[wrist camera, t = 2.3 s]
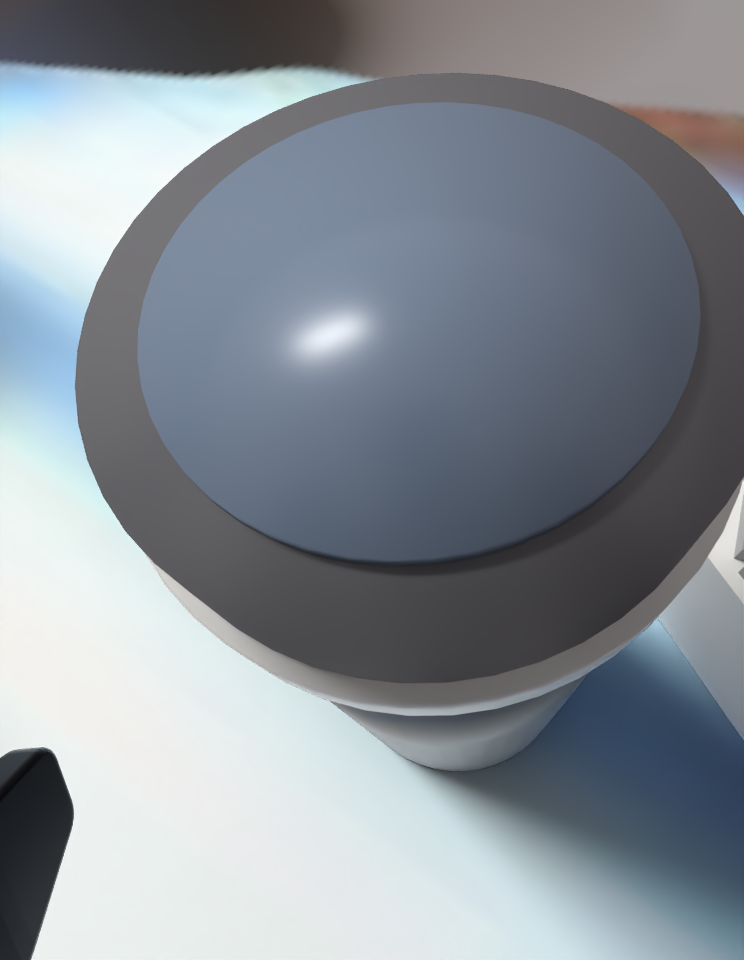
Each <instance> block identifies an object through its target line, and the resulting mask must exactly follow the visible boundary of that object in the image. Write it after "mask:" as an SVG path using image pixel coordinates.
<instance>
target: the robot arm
mask: <svg viewBox="0 0 744 960" xmlns="http://www.w3.org/2000/svg"><path fill="white" fill-rule="evenodd" d="M73 819H74V809H73V803H72V800H71V797H70V794H69V791H68V789H67V786H66V783H65V780H64V777H63V775H62V772H61V769H60V766H59V764H58V761H57V758H56V756H55V754H54V753H53V752H52V751H51V750H50V749H48V748H44V747H40V748H29V749H18V750H13V751H11V752H8V753H7V754H5V755H4V756H2V757H1V758H0V960H31V958H32V955H33V952H34V949H35V946H36V943H37V940H38V936H39V933H40V930H41V927H42V924H43V920H44V917H45V914H46V911H47V907H48V904H49V901H50V898H51V894H52V891H53V888H54V885H55V881H56V878H57V875H58V872H59V869H60V865H61V862H62V859H63V856H64V852H65V849H66V846H67V843H68V839H69V836H70V833H71V830H72V825H73Z"/></svg>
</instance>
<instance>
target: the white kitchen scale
mask: <svg viewBox="0 0 744 960" xmlns="http://www.w3.org/2000/svg"><path fill="white" fill-rule="evenodd" d="M658 618H659V620H660V621H661V623H662V624H663V626H664V627H665V628H666V630H667V631H668V633H669V634H670V636H671V637H672V638H673V640H674V641H675V643H676V644H677V646H678V647H679V649H680V650H681V651H682V653H683V654H684V656H685V657H686V659H687V660H688V661H689V663H690V664H691V666H692V667H693V669H694V670H695V672H696V673H697V674H698V676H699V677H700V679H701V680H702V682H703V683H704V684H705V686H706V687H707V689H708V690H709V692H710V693H711V695H712V696H713V697H714V699H715V700H716V702H717V703H718V705H719V706H720V707H721V709H722V710H723V712H724V713H725V715H726V716H727V718H728V719H729V720H730V722H731V723H732V725H733V726H734V728H735V729H736V730H737V732H738V733H739V735H740V736H741V738H742V739H743V741H744V477H743V481H742V485H741V489H740V493H739V495H738V498H737V500H736V502H735V505H734V507H733V510H732V512H731V514H730V517H729V519H728V522H727V524H726V526H725V529H724V531H723V533H722V534H721V536H720V538H719V539H718V541H717V543H716V544H715V546H714V547H713V549H712V551H711V552H710V554H709V555H708V557H707V559H706V560H705V562H704V563H703V565H702V567H701V568H700V570H699V571H698V572H697V573H696V574H695V575H694V577H693V578H692V579H691V580H690V581H689V582H688V584H687V585H686V586H685V587H684V588H683V589H682V591H681V592H680V593H679V594H678V595H677V596H676V597H675V599H674V600H673V601H672V602H671V603H670V604H669V605H668V607H667V608H666V609H665V610H664V611H663V612H662V613H661V614H660V615H659V616H658Z"/></svg>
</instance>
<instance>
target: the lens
mask: <svg viewBox="0 0 744 960" xmlns="http://www.w3.org/2000/svg"><path fill="white" fill-rule="evenodd" d="M75 391H76V403H77V414H78V424H79V428H80V432H81V436H82V440H83V444H84V448H85V452H86V456H87V460H88V462H89V465H90V467H91V469H92V472H93V474H94V476H95V479H96V481H97V483H98V486H99V488H100V490H101V493H102V495H103V497H104V499H105V500H106V502H107V503H108V505H109V506H110V508H111V509H112V511H113V513H114V514H115V516H116V517H117V519H118V520H119V522H120V523H121V525H122V527H123V528H124V530H125V531H126V532H127V533H128V535H129V536H130V537H131V538H132V539H133V540H134V541H135V542H136V544H137V545H138V546H139V547H140V548H141V549H142V550H143V551H144V552H145V554H146V556H147V557H148V559H149V560H150V562H151V563H152V565H153V566H154V568H155V570H156V571H157V573H158V574H159V576H160V577H161V579H162V580H163V582H164V583H165V585H166V587H167V588H168V589H169V590H170V591H171V592H172V594H173V595H174V596H175V597H176V598H177V599H178V600H179V601H180V603H181V604H182V605H183V606H184V607H185V608H186V609H187V610H188V612H189V613H190V614H191V615H192V616H193V617H194V618H195V619H196V620H197V621H199V622H200V623H201V624H202V625H203V626H205V627H206V628H207V629H208V630H210V631H211V632H212V633H213V634H214V635H216V636H217V637H218V638H219V639H220V640H222V641H223V642H224V643H225V644H226V645H228V646H229V647H231V648H232V649H234V650H235V651H237V652H238V653H240V654H241V655H243V656H244V657H246V658H247V659H248V660H250V661H251V662H253V663H255V664H256V665H258V666H259V667H261V668H263V669H264V670H266V671H268V672H269V673H271V674H273V675H274V676H276V677H277V678H279V679H281V680H282V681H284V682H286V683H288V684H290V685H292V686H295V687H297V688H299V689H302V690H304V691H306V692H309V693H311V694H313V695H316V696H318V697H320V698H323V699H325V700H329V701H330V702H332V703H333V704H334V705H335V706H337V707H338V708H339V709H341V710H342V711H343V712H344V713H346V714H347V715H348V716H350V717H351V718H352V719H353V720H355V721H356V722H357V723H359V724H360V725H361V726H363V727H364V728H365V729H366V730H368V731H369V732H370V733H372V734H373V735H374V736H375V737H377V738H378V739H379V740H381V741H382V742H383V743H384V744H386V745H387V746H388V747H390V748H391V749H392V750H393V751H395V752H397V753H398V754H400V755H401V756H403V757H405V758H406V759H408V760H411V761H413V762H415V763H418V764H420V765H423V766H426V767H430V768H434V769H439V770H446V771H471V770H478V769H483V768H486V767H490V766H493V765H496V764H499V763H501V762H503V761H505V760H507V759H509V758H511V757H513V756H514V755H516V754H517V753H519V752H520V751H522V750H523V749H524V748H526V747H527V746H528V745H529V744H530V743H531V742H533V741H534V740H535V739H536V737H537V736H538V735H539V734H540V733H541V732H542V730H543V729H544V728H545V727H546V726H547V724H548V723H549V722H550V721H551V720H552V718H553V717H554V716H555V715H556V713H557V712H558V711H559V710H560V708H561V707H562V706H563V705H564V704H565V702H566V701H567V700H568V699H569V697H570V696H571V695H572V694H573V692H574V691H575V690H576V689H577V688H578V686H579V685H580V684H581V683H582V681H583V680H584V679H585V678H586V676H587V675H588V674H589V673H590V672H591V671H592V670H593V669H595V668H596V667H598V666H599V665H601V664H603V663H604V662H606V661H607V660H609V659H610V658H612V657H614V656H615V655H617V654H618V653H619V652H620V651H621V650H622V649H624V648H625V647H626V646H627V645H628V644H629V643H631V642H632V641H633V640H634V639H635V638H636V637H638V636H639V635H640V634H641V633H642V632H643V631H644V630H646V629H647V628H648V627H649V626H650V625H651V624H652V623H653V622H654V621H655V619H656V618H657V617H658V616H659V615H660V614H661V613H662V612H663V611H664V610H665V609H666V608H667V607H668V605H669V604H670V603H671V602H672V601H673V600H674V599H675V597H676V596H677V595H678V594H679V593H680V592H681V591H682V589H683V588H684V587H685V586H686V585H687V584H688V582H689V581H690V580H691V579H692V578H693V577H694V575H695V574H696V573H697V572H698V571H699V570H700V568H701V567H702V565H703V563H704V562H705V560H706V559H707V557H708V555H709V554H710V552H711V551H712V549H713V547H714V546H715V544H716V543H717V541H718V539H719V538H720V536H721V534H722V533H723V531H724V529H725V526H726V524H727V522H728V519H729V517H730V514H731V512H732V510H733V507H734V505H735V502H736V500H737V498H738V495H739V493H740V489H741V485H742V481H743V477H744V216H743V214H742V213H741V211H740V210H739V208H738V207H737V205H736V204H735V203H734V201H733V200H732V198H731V197H730V195H729V194H728V192H727V191H726V190H725V189H724V188H723V187H722V186H721V185H720V184H719V183H718V182H717V181H716V179H715V178H714V177H713V176H712V175H711V174H710V173H709V172H708V171H707V170H706V169H705V167H704V166H703V165H702V164H700V163H699V162H698V161H697V160H696V159H694V158H693V157H692V156H691V155H690V154H688V153H687V152H686V151H685V150H684V149H682V148H681V147H680V146H679V145H678V144H676V143H675V142H674V141H673V140H671V139H670V138H668V137H667V136H665V135H663V134H662V133H660V132H659V131H657V130H656V129H654V128H653V127H651V126H649V125H648V124H646V123H645V122H643V121H642V120H640V119H638V118H636V117H634V116H632V115H630V114H628V113H626V112H623V111H621V110H619V109H617V108H615V107H613V106H611V105H609V104H607V103H605V102H602V101H599V100H596V99H594V98H591V97H588V96H585V95H582V94H580V93H577V92H574V91H571V90H568V89H564V88H560V87H556V86H552V85H548V84H544V83H540V82H536V81H530V80H524V79H518V78H511V77H504V76H497V75H483V74H466V73H446V74H418V75H410V76H403V77H393V78H385V79H379V80H374V81H370V82H365V83H360V84H355V85H350V86H346V87H342V88H339V89H336V90H332V91H329V92H326V93H322V94H319V95H316V96H312V97H309V98H307V99H304V100H302V101H299V102H297V103H294V104H292V105H289V106H287V107H284V108H282V109H279V110H277V111H275V112H273V113H271V114H269V115H267V116H265V117H263V118H261V119H259V120H257V121H255V122H253V123H251V124H249V125H247V126H245V127H243V128H241V129H240V130H238V131H237V132H235V133H233V134H232V135H230V136H229V137H227V138H225V139H224V140H222V141H221V142H219V143H217V144H216V145H214V146H213V147H211V148H210V149H209V150H207V151H206V152H205V153H203V154H202V155H201V156H200V157H198V158H197V159H196V160H194V161H193V162H192V163H190V164H189V165H188V166H186V167H185V168H184V169H183V170H182V171H181V172H180V173H178V174H177V175H176V176H175V177H174V178H173V179H172V180H171V181H170V182H169V183H168V184H167V185H166V186H165V187H164V188H162V189H161V190H160V191H159V192H158V193H157V194H156V195H155V197H154V198H153V199H152V200H151V201H150V202H149V204H148V205H147V206H146V207H145V208H144V209H143V211H142V212H141V213H140V214H139V215H138V216H137V217H136V219H135V220H134V221H133V223H132V224H131V225H130V227H129V228H128V230H127V231H126V233H125V234H124V236H123V237H122V239H121V240H120V242H119V243H118V245H117V246H116V247H115V249H114V250H113V252H112V254H111V256H110V258H109V260H108V262H107V264H106V266H105V268H104V270H103V272H102V274H101V276H100V277H99V279H98V281H97V284H96V287H95V289H94V292H93V295H92V298H91V300H90V303H89V306H88V309H87V311H86V314H85V318H84V322H83V327H82V332H81V336H80V341H79V346H78V350H77V365H76V380H75Z"/></svg>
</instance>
